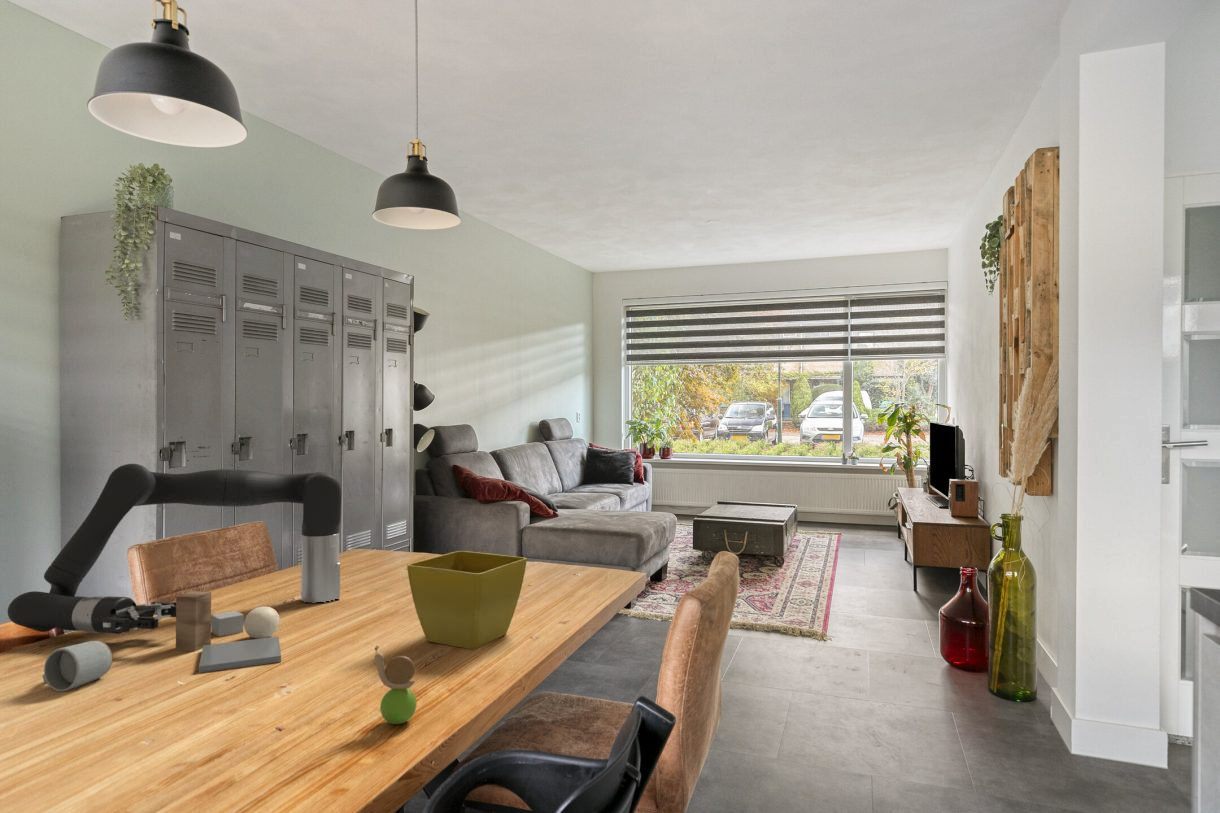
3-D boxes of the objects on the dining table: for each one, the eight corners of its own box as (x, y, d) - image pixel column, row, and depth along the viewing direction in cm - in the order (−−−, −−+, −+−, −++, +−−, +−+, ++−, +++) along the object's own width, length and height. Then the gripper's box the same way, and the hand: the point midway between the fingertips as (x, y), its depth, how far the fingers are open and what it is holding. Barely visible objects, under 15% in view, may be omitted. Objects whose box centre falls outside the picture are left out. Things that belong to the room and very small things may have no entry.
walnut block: (191, 643, 153) (192, 591, 153) (210, 644, 152) (211, 592, 152) (175, 650, 149) (176, 596, 149) (195, 651, 148) (196, 597, 148)
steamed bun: (286, 633, 160) (286, 603, 160) (267, 643, 153) (268, 611, 153) (257, 632, 161) (258, 602, 161) (237, 642, 154) (238, 610, 154)
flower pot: (528, 632, 162) (528, 556, 162) (478, 657, 144) (479, 573, 145) (459, 621, 170) (459, 550, 170) (404, 644, 152) (404, 564, 153)
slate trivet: (278, 642, 154) (278, 636, 154) (281, 661, 141) (281, 655, 141) (203, 651, 148) (203, 645, 148) (198, 672, 135) (198, 666, 135)
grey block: (235, 628, 165) (235, 610, 165) (243, 632, 161) (243, 614, 161) (211, 632, 161) (211, 614, 161) (218, 637, 158) (219, 619, 158)
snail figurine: (378, 716, 116) (378, 641, 116) (419, 715, 116) (419, 640, 116) (369, 731, 110) (370, 651, 110) (412, 729, 111) (413, 650, 111)
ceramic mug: (116, 677, 133) (116, 636, 133) (77, 693, 125) (77, 650, 125) (69, 674, 135) (69, 634, 135) (28, 690, 127) (28, 647, 127)
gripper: (75, 605, 147) (146, 608, 144) (131, 589, 161) (197, 591, 158) (74, 642, 147) (146, 646, 144) (131, 622, 161) (197, 625, 158)
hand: (172, 617), depth 151 cm, fingers open, 8 cm apart
